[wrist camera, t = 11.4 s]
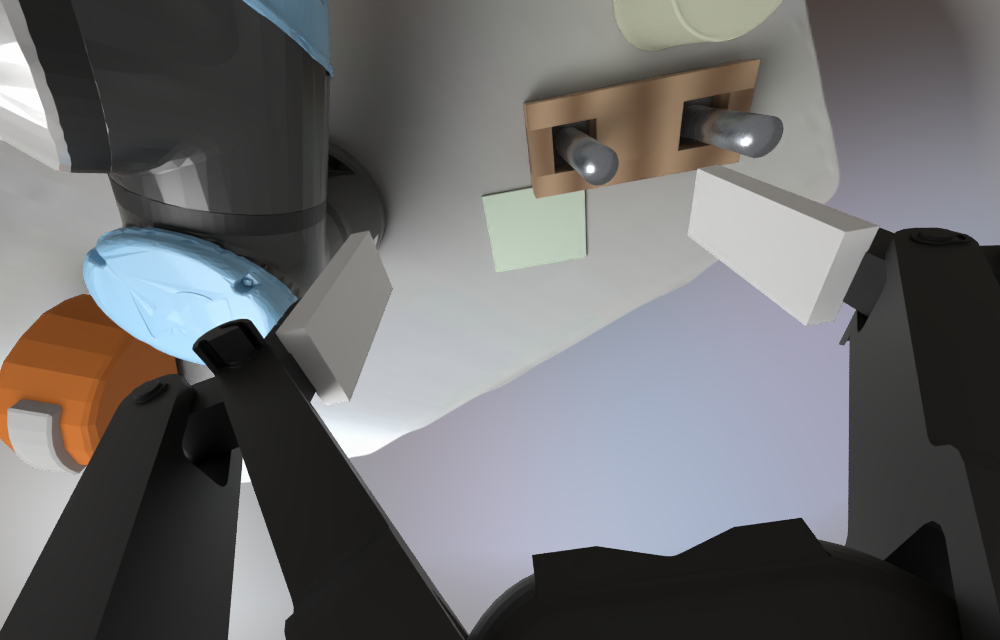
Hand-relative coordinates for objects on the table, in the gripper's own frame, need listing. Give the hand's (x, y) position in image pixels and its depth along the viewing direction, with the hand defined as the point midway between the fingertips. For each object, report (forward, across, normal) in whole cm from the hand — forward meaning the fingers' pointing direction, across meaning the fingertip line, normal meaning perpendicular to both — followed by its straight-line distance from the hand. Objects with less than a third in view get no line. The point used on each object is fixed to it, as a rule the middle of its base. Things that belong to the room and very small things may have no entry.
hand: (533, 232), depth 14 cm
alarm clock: (+29, -56, -20) cm, 66 cm away
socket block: (+28, +14, -2) cm, 32 cm away
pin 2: (+28, +21, -2) cm, 35 cm away
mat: (+28, +3, -11) cm, 31 cm away
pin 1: (+28, +8, -2) cm, 30 cm away
